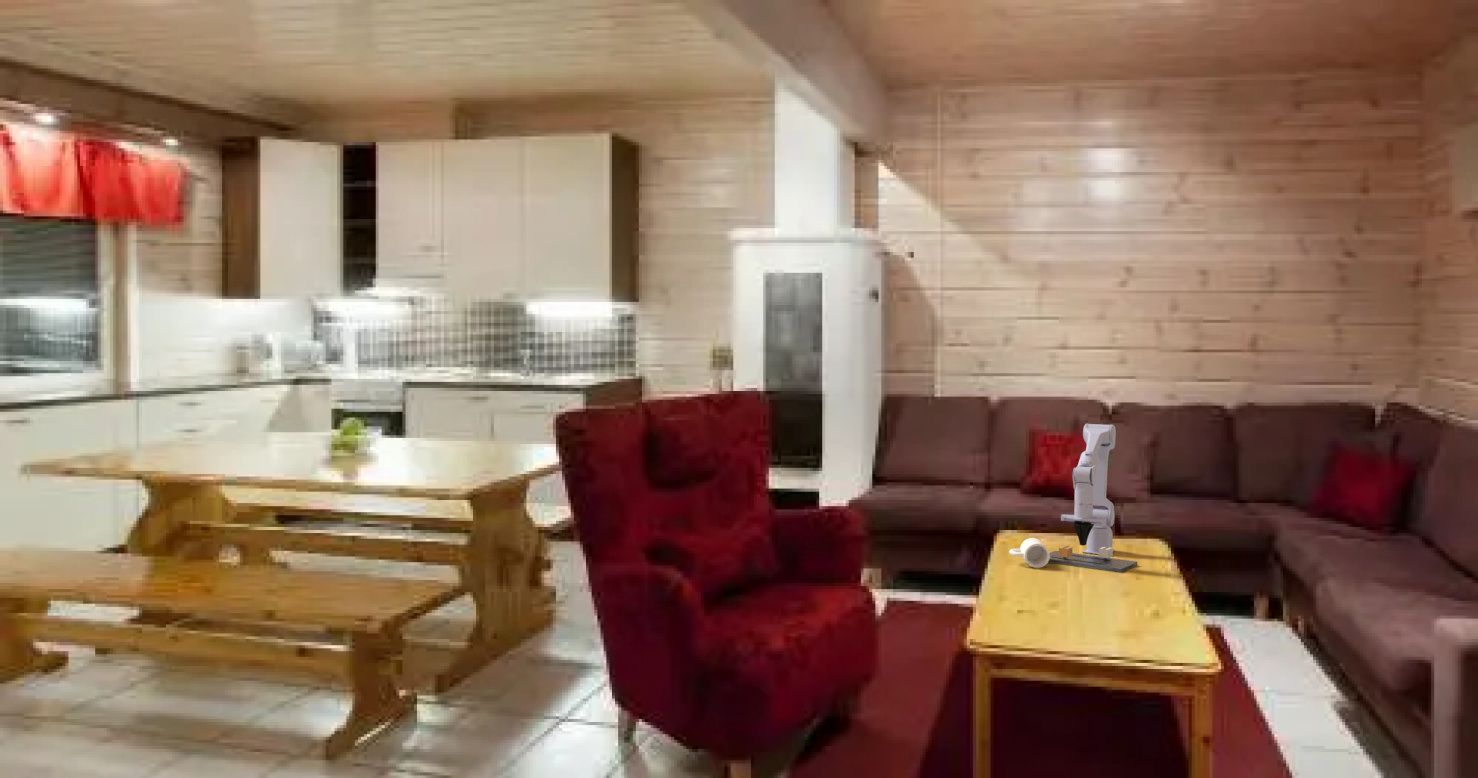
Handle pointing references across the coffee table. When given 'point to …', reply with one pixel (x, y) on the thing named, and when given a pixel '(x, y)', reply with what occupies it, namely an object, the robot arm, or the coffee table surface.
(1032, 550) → the mug
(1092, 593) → the coffee table surface
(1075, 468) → the robot arm
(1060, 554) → the orange fader
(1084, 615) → the coffee table surface
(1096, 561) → the mixer board
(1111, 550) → the cream fader
